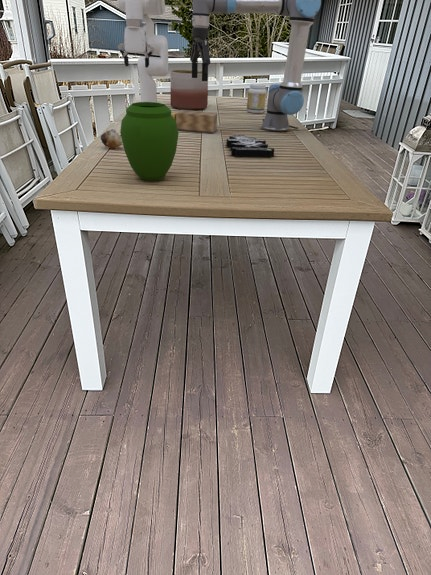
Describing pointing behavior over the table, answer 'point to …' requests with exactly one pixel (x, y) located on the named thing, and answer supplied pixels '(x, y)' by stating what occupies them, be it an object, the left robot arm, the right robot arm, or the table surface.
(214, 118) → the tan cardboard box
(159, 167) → the vase
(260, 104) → the supplement tub
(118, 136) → the seashell
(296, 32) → the right robot arm
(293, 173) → the table surface
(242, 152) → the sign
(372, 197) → the table surface
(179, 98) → the planter
